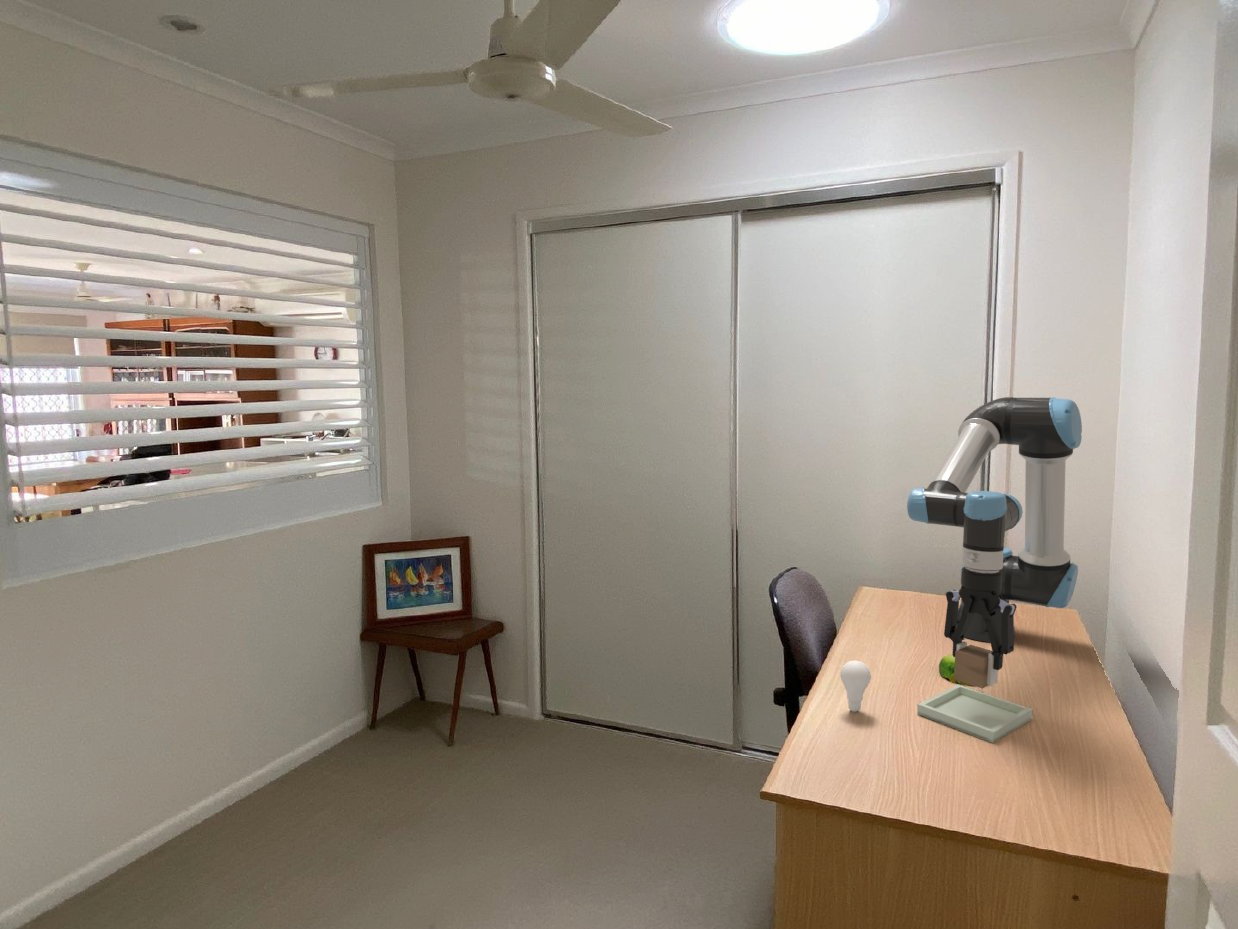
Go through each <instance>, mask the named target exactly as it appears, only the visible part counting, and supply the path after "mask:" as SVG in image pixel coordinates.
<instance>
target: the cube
mask: <svg viewBox="0 0 1238 929" xmlns="http://www.w3.org/2000/svg"><path fill="white" fill-rule="evenodd" d="M991 652H993V651H992V649H991V650H990V649H987V648H983V647H980V646H976V645H973V644H969V645H967V646H966V647H964V648H962V649H959V650H957V651H955V667H954V679H955V680H958V681H961V682H964V683H967V684H969V685H970V686H974V687H976V688H979V689H985V688H986V687H990V685H987V676H988V660H989V658H988V656H989V653H991Z"/></svg>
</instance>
